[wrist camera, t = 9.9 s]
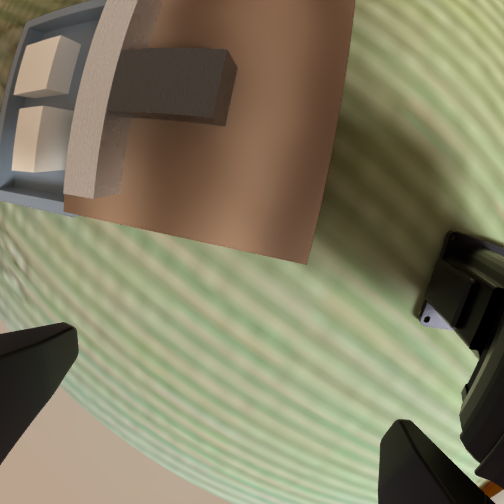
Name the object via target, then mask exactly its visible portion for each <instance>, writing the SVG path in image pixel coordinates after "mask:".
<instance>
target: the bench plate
mask: <svg viewBox="0 0 504 504" xmlns="http://www.w3.org/2000/svg"><path fill="white" fill-rule="evenodd" d="M161 2H162V6H161V9H160V12H159V15H158V18H157V21H156V24H155V27H154V30H153V33H152V37H151V40H150V43H149V47H148V48H212V49H228V51H229V53H230V55H231V57H232V58H233V60H234V62H235V64H236V65H237V67H238V69H237V74H236V78H235V83H234V87H233V92H232V97H231V102H230V106H229V111H228V116H227V121H226V126H225V127H224V126H217V125H209V124H201V123H192V122H182V121H171V120H159V119H144V118H131V123H130V128H129V134H128V139H127V145H126V152H125V158H124V165H123V173H122V181H121V189H120V194H117V195H112V196H106V197H101V198H96V199H91V198H85V197H79V196H74V195H68V194H65V195H64V212H67V213H72V214H76V215H81V216H85V217H90V218H94V219H99V220H104V221H108V222H113V223H117V224H122V225H126V226H131V227H136V228H140V229H145V230H149V231H154V232H159V233H163V234H168V235H172V236H177V237H181V238H186V239H191V240H195V241H200V242H204V243H209V244H214V245H218V246H223V247H227V248H232V249H237V250H241V251H246V252H250V253H255V254H260V255H264V256H269V257H273V258H278V259H283V260H287V261H292V262H296V263H301V264H306V265H307V262H308V258H309V254H310V250H311V246H312V242H313V238H314V233H315V229H316V225H317V221H318V216H319V212H320V207H321V203H322V198H323V194H324V189H325V184H326V180H327V175H328V170H329V165H330V160H331V155H332V150H333V145H334V140H335V134H336V129H337V123H338V118H339V112H340V106H341V100H342V94H343V88H344V82H345V76H346V69H347V62H348V55H349V48H350V41H351V33H352V25H353V17H354V8H355V0H161Z"/></svg>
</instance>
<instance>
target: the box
mask: <svg viewBox="0 0 504 504" xmlns="http://www.w3.org/2000/svg"><path fill="white" fill-rule="evenodd" d="M106 1H107V0H90V1H87V2H83V3H79V4H76V5H72V6H69V7H66V8H62V9H59V10H56V11H53V12H50V13H47V14H45V15H42V16H39V17H37V18H34V19H31V20H29V21H26V24H25V27H24V29H23V32H22V35H21V38H20V40H19V43H18V46H17V49H16V53H15V56H14V59H13V62H12V66H11V69H10V73H9V77H8V81H7V85H6V89H5V94H4V98H3V103H2V108H1V113H0V201H4V202H9V203H13V204H18V205H22V206H26V207H31V208H35V209H39V210H44V211H48V212H53V213H57V214H61V215H66V216H70V217H76V216H79V215H76V214H72V213H67V212H64V195H65V194H63V190H64V178H65V170H58V171H46V172H35V173H33V172H23V171H12V160H13V150H14V142H15V134H16V127H17V121H18V115H19V110H20V109H21V108H28V107H36V106H48V107H54V108H60V109H65V110H71V111H74V109H75V104H76V100H77V95H78V91H79V86H80V82H81V78H82V74H83V70H84V67H85V63H86V60H87V56H88V53H89V49H90V46H91V43H92V40H93V37H94V34H95V31H96V28H97V25H98V22H99V19H100V17H101V14H102V11H103V9H104V6H105V4H106ZM60 35H62V36H64V37H66V38H68V39H71V40H73V41H75V42H77V43H79V44H81V47H80V51H79V54H78V58H77V61H76V65H75V69H74V73H73V77H72V81H71V85H70V89H69V94H65V95H56V96H48V97H41V98H30V97H23V96H17V95H14V90H15V86H16V81H17V77H18V73H19V70H20V66H21V62H22V59H23V55H24V52H25V49H26V46H27V45H30V44H33V43H36V42H39V41H43V40H46V39H49V38H52V37H56V36H60Z"/></svg>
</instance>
